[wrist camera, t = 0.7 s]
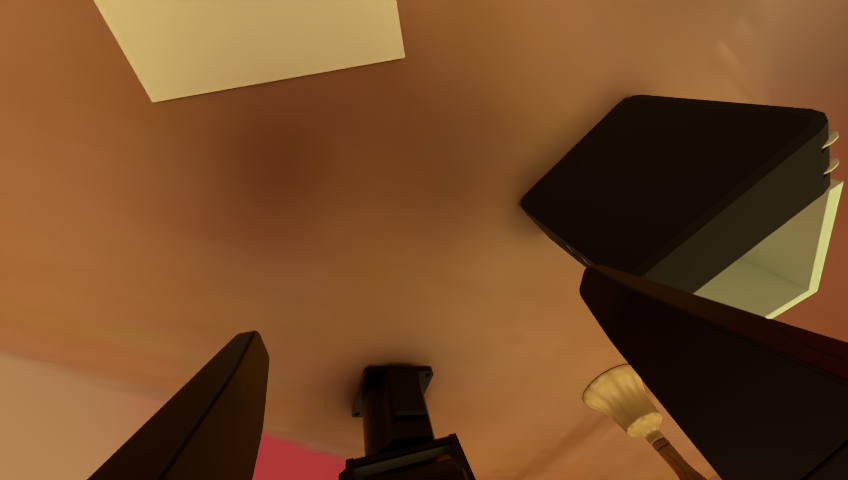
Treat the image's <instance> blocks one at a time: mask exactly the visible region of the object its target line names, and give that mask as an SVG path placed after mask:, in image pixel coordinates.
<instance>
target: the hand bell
mask: <svg viewBox="0 0 848 480" xmlns="http://www.w3.org/2000/svg"><path fill="white" fill-rule="evenodd" d="M583 401H584V403H585V404H586V405H587V406H589V407H591V408H593V409H597V410H600V411H602V412H604V413H605V414H607V415H608V416H609V417H611V418H612V419H613V420H614V421H615V422H616V423H617V424H618V425H619V426H620V427H621V428H622V429H623V430H624V431H625V432H626V433H627V434H628V435H629V436H631V437H642V438H645V439H647V441H648V442H649V443H650V444H651V445H652V446H653V447H654V449H655V450H656V451H658V452H659V454H660V455H661V456H662V457H663V459H664V460H665V461H666V462H667V463H668V464H669V465H670V466H671V468H672V469H673V470H674V471H675V473H676V474H677V475H678V477H679V479H680V480H707V479H706V478H705V477H703V476H702V475H701V474H699V473H698V472H697V471H695V470H694V469H693V468H692V467H691V466H690V465H689V464H688V463H687V462H686V461H685V460H684V459H683V458H682V457H681V455H680V454H679V453H678V452H677V451H676V449H675V448H674V447H673V446H672V445H671V444H670V442H669V441H668V440H667V439H666V438H665V437H664V436H663V435H662V434H661V432H660V430H659V426H660V423H661V421H662V416H661V414H660V413H659V411H658V410H657V409H656V407H655V406H654V405H653V403H652V402H651V400H650V399H649V397H648V396H647V394H646V392H645V390H644V387H643V383H642V379H641V378H640V377H639V376H638V374H637V373H636V372H635V371H634V370H633V368H632V367H631V366H630V365H629V364H625V365H620V366H617V367H614V368H612V369H610V370H608V371H606V372H604V373H603V374H601V375H600V376H598V377H597V378H595V379H594V380H593V381H592V382H591V383H590V384H589V386H588V387H587V388H586V390H585V392H584V394H583Z"/></svg>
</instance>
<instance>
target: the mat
mask: <svg viewBox="0 0 848 480" xmlns="http://www.w3.org/2000/svg"><path fill="white" fill-rule="evenodd" d="M94 2H95V4H96V5H97V7H98V9H99V11H100V12H101V14H102V16H103V17H104V19H105V21H106V23H107V24H108V26H109V28H110V30H111V31H112V33H113V35H114V37H115V38H116V40H117V42H118V43H119V45H120V47H121V49H122V50H123V52H124V54H125V56H126V57H127V59H128V61H129V63H130V64H131V66H132V68H133V70H134V71H135V73H136V75H137V76H138V78H139V80H140V82H141V83H142V85H143V87H144V89H145V90H146V92H147V94H148V96H149V97H150V99H151V101H152V102H158V101H164V100H169V99H175V98H181V97H186V96H192V95H198V94H203V93H209V92H215V91H220V90H226V89H231V88H237V87H243V86H248V85H254V84H260V83H265V82H271V81H277V80H282V79H288V78H294V77H299V76H305V75H311V74H316V73H322V72H328V71H333V70H339V69H344V68H350V67H356V66H361V65H367V64H373V63H378V62H384V61H390V60H395V59H401V58H405V53H404V47H403V40H402V34H401V28H400V21H399V15H398V9H397V2H396V0H94Z"/></svg>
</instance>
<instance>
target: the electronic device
mask: <svg viewBox="0 0 848 480" xmlns="http://www.w3.org/2000/svg"><path fill="white" fill-rule="evenodd" d="M837 138H838V132H837V131H832V130H828V120H827V117H826V115H825V113H823V112H819V111H816V110H813V109H805V108H793V107H780V106H769V105H757V104H745V103H733V102H721V101H709V100H697V99H685V98H674V97H662V96H650V95H636V96H632V97H629V98H627V99H625V100H623V101H622V102H621V103H619V104H618V105H617V106H616V107H615V108H614V109H613V110H612V111H611V112H610V113H609V114H608V115H607V116H606V117H605V118H604V119H603V120H602V121H601V122H600V123H599V124H598V125H596V126H595V127H594V128H593V129H592V130H591V131H590V132H589V133H588V134H587V135H586V136H585V137H584V138H583V139H582V140H581V141H580V142H579V143H578V144H577V145H576V146H575V147H574V148H573V149H572V150H571V151H570V152H569V153H568V154H567V155H566V156H565V157H564V158H563V159H562V160H561V161H560V162H559V163H558V164H557V165H556V166H555V167H554V168H553V169H552V170H550V171H549V172H548V173H547V174H546V175H545V176H544V177H543V178H542V179H541V180H540V181H539V182H538V183H537V184H536V185H535V186H534V187H533V188H532V189H531V190H530V191H529V192H528V193H527V194H526V195H525V196H524V198H523V199H522V202H521V207H522V208H523V210H524V211H525V212H526V213H527V214H528V215H529V216H530V217H531V218H532V220H533V221H534V222H535V223H536V224H537V225H538V226H539V227H540V228H541V229H542V230H543V231H544V232H545V234H546V235H547V236H548V237H549V238H550V239H551V240H552V241H554V242H555V243H556V244H557V245H559V246H560V247H561V248H562V249H564V250H565V251H566V252H567V253H569V254H570V255H571V256H572V257H574V258H575V259H576V260H577V261H579V262H580V263H581V264H582V265H583V266H585V267H586V268H587V267H589V266H594V265H604V266H607V267H610V268H613V269H616V270H619V271H622V272H626V273H629V274H632V275H635V276H638V277H641V278H644V279H648V280H651V281H654V282H657V283H660V284H663V285H666V286H669V287H673V288H676V289H679V290H682V291H685V292H688V293H691V294H693V293H695V292H696V291H697V290H699V289H700V288H701V287H703V286H704V285H705V284H707V283H708V282H709V281H710V280H712V279H713V278H714V277H716V276H717V275H718V274H720V273H721V272H722V271H724V270H725V269H726V268H727V267H729V266H730V265H731V264H733V263H734V262H735V261H737V260H738V259H739V258H741V257H742V256H743V255H744V254H746V253H747V252H748V251H750V250H751V249H752V248H754V247H755V246H756V245H758V244H759V243H760V242H761V241H763V240H764V239H765V238H767V237H768V236H769V235H771V234H772V233H773V232H775V231H776V230H777V229H778V228H780V227H781V226H782V225H784V224H785V223H786V222H788V221H789V220H790V219H792V218H793V217H794V216H796V215H797V214H798V213H799V212H801V211H802V210H803V209H805V208H806V207H807V206H809V205H810V204H811V203H813V202H814V201H815V200H816V199H818V198H819V197H820V196H822V195H823V194H824V193H825V192H826V190H827V189H828V188H829V186H830V185H831V183H830V171H832V170H833V169H834V168H836V167H837V166H838V164H839V160H838V159H837V158H832V157H829V145H830V144H832V143H833V142H834V141H835V140H836V139H837Z"/></svg>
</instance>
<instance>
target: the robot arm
mask: <svg viewBox="0 0 848 480" xmlns="http://www.w3.org/2000/svg"><path fill="white" fill-rule="evenodd" d="M579 290H580V295H581V297H582V299H583V300H584V302H585V303H586V305H587V306H588V308H589V309H590V311H591V312H592V314H593V315H594V317H595V318H596V320H597V321H598V323H599V324H600V326H601V327H602V329H603V330H604V332H605V333H606V335H607V336H608V338H609V339H610V341H611V342H612V343H613V345H614V346H615V347H616V348H617V350H618V351H619V352H620V353H621V355H622V356H623V357H624V358H625V360H626V361H627V362H628V363H629V365H630V366H631V367H632V368H633V370H634V371H635V372H636V373H637V374H638V376H639V377H640V378H641V379H642V381H643V382H644V383H645V384H646V386H647V387H648V388H649V389H650V391H651V392H652V393H653V394H654V396H655V397H656V398H657V399H658V401H659V402H660V403H661V404H662V406H663V407H664V408H665V409H666V411H667V412H668V413H669V414H670V415H671V417H672V418H673V419H674V420H675V422H676V423H677V424H678V425H679V427H680V428H681V429H682V430H683V432H684V433H685V434H686V435H687V437H688V438H689V439H690V440H691V442H692V443H693V444H694V445H695V447H696V448H697V449H698V450H699V452H700V453H701V454H702V455H703V456H704V458H705V459H706V460H707V461H708V463H709V464H710V465H711V466H712V468H713V469H714V470H715V471H716V473H717V474H718V475H719V476H720V478H721V479H722V480H848V342H844V341H841V340H837V339H834V338H830V337H827V336H824V335H821V334H818V333H814V332H811V331H808V330H805V329H802V328H798V327H795V326H792V325H788V324H786V323H782V322H779V321H776V320H773V319H767V318H766V317H763V316H760V315H757V314H754V313H751V312H748V311H745V310H741V309H738V308H735V307H732V306H729V305H726V304H723V303H720V302H716V301H713V300H710V299H707V298H704V297H701V296H698V295H695V294H691V293H688V292H685V291H682V290H679V289H676V288H673V287H669V286H666V285H663V284H660V283H657V282H654V281H651V280H648V279H644V278H641V277H638V276H635V275H632V274H629V273H626V272H622V271H619V270H616V269H613V268H610V267H607V266H604V265H594V266H589V267H587V268H586V269H585V271H584V274H583V277H582V281H581V285H580V289H579ZM268 370H269V355H268V352H267V350H266V348H265V345H264V343H263V341H262V338H261V336H260V334H259V333H258V332H257V331H250V332H244V333H240V334H238V335H236V336H235V337H234V338H233V339H232V340H231V341H230V342H229V343H228V344H227V345H226V346H225V347H223V348H222V349H221V350H220V351H219V352H218V353H217V354H216V355H215V356H214V357H213V358H212V359H211V360H210V361H209V362H208V363H207V364H206V365H205V366H204V367H203V368H202V369H201V370H200V371H199V372H198V373H197V374H196V375H195V376H194V377H193V378H192V379H190V380H189V381H188V382H187V383H186V384H185V385H184V386H183V387H182V388H181V389H180V390H179V391H178V392H177V393H176V394H175V395H174V396H173V397H172V398H171V399H170V400H169V401H168V402H167V403H166V404H165V405H164V406H163V407H162V408H161V409H160V410H158V411H157V412H156V413H155V414H154V415H153V416H152V417H151V418H150V419H149V420H148V421H147V422H146V423H145V424H144V425H143V426H142V427H141V428H140V429H139V430H138V431H137V432H136V433H135V434H134V435H133V436H132V437H131V438H130V439H129V440H128V441H127V442H125V443H124V444H123V445H122V446H121V447H120V448H119V449H118V450H117V451H116V452H115V453H114V454H113V455H112V456H111V457H110V458H109V459H108V460H107V461H106V462H105V463H104V464H103V465H102V466H101V467H100V468H99V469H98V470H97V471H96V472H94V473H93V475H92V476H91V477H89V478H88V479H87V480H252V478H253V473H254V468H255V463H256V459H257V454H258V448H259V444H260V440H261V434H262V429H263V421H264V412H265V402H266V391H267V381H268ZM432 376H433V371H432V369H431V368H409V367H369V368H366V369H365V371H364V374H363V377H362V380H361V383H360V386H359V389H358V392H357V395H356V398H355V401H354V404H353V407H352V417H363V429H364V445H365V457H361V458H357V459H353V458H351V459H347V460H346V469H345V470H344V471H343V472H341V473H340V474H339V480H475V477H474V475H473V473H472V470H471V468H470V466H469V463H468V461H467V459H466V456H465V454H464V452H463V449H462V447H461V445H460V443H459V440H458V438H457V436H456V433H454V434H450V435H449V436H447V437H443V438H439V439H435V437H434V433H433V429H432V425H431V421H430V417H429V413H428V410H427V406H426V402H425V398H424V393H425V391H426V389H427V387H428V385H429V382H430V380H431V378H432Z"/></svg>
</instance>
